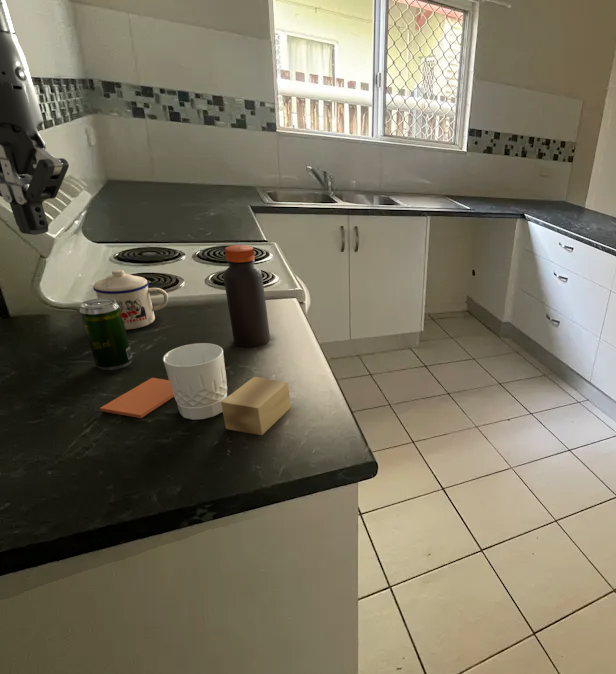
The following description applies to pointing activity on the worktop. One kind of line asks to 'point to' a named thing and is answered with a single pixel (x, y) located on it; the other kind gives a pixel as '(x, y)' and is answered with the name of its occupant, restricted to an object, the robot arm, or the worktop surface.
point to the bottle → (245, 297)
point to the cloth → (141, 399)
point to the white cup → (197, 379)
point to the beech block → (256, 405)
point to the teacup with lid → (130, 297)
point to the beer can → (106, 333)
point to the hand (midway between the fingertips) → (35, 232)
